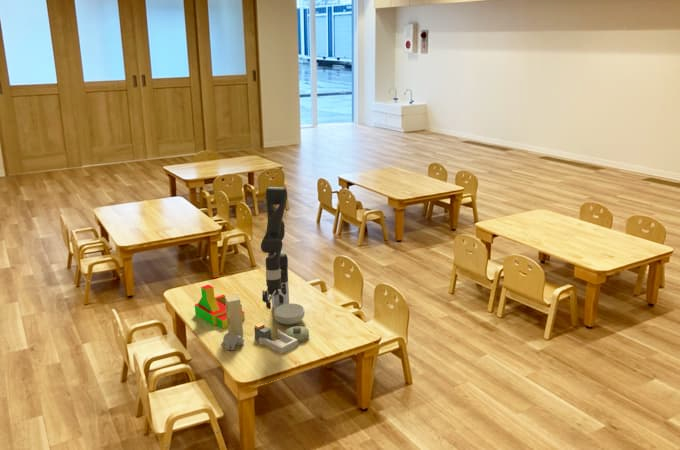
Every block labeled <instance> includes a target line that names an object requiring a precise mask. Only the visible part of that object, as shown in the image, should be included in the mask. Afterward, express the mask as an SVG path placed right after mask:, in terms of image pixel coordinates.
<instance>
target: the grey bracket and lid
mask: <svg viewBox="0 0 680 450" xmlns="http://www.w3.org/2000/svg"><path fill="white" fill-rule="evenodd" d="M276 334H277V336H278V338H279V339H277V340H274V341H273V340H269V339H267V338H261V337H260V338H259V339H258V344H260V345H265V346H267V347H268V348H269V349H273V350H274V351H277V352H278V353H280V354H282V353H283V354H284V353H285V352H288V351H289V350H291V349H294V348H295V347H297V346H298V345H299V343H302V342H305V341H307V340H308V339H309V337H310V335H309V329H308V328H307V327H305V326H297V325H296V326H292V327H289V328H287V329H286V330H285V333H284V332H283V331H281V329H279V328H277V329H276Z"/></svg>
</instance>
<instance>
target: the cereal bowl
mask: <svg viewBox="0 0 680 450" xmlns="http://www.w3.org/2000/svg"><path fill="white" fill-rule="evenodd" d="M273 315H274V319H275V320H276V321H277V322H278V323H280V324H282V325H287V326H288V325H290V326H291V325H294V324H297V323H300V322H301V321H302V320H303V319H304V318H305V308H304V306H303V305H301V304H298V303H291V302H289V304H283V305H280V306H278V307H276V308H275V310H274V309H273Z"/></svg>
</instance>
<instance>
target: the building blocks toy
mask: <svg viewBox="0 0 680 450" xmlns="http://www.w3.org/2000/svg"><path fill="white" fill-rule="evenodd" d="M200 288H201V289H200V291H201V298H200V299H199V301H198V303H195V304H194V313H195V316H197V317H199V318H200V319H201V320H203V321H205V322H206V323H207V324H209V325H211V326H212V327H214V326H217V327H220V328H222V329H224V328H228V324H227V313H226V303H225V296H226V295H225V294H221V295H219V296H215V289H214V286H212V285H211V284H206V285H203V286H200ZM240 305H241V316H242V322H243V321H245V317H246V316H245V312H244V311H243V306H242V304H241V303H240Z"/></svg>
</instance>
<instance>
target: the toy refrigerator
mask: <svg viewBox="0 0 680 450" xmlns="http://www.w3.org/2000/svg"><path fill="white" fill-rule="evenodd" d="M225 303H226V313H227V324H228V326H227V333H229V332H233V333H235V334H236V335H237V336H238V335H239V334H240V336H241V337H242V336H243V337H244V329H243V321H242V316H241V305H242V304H241V299H240V297H239V295H238V294H229V295H225ZM240 304H241V305H240Z"/></svg>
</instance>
